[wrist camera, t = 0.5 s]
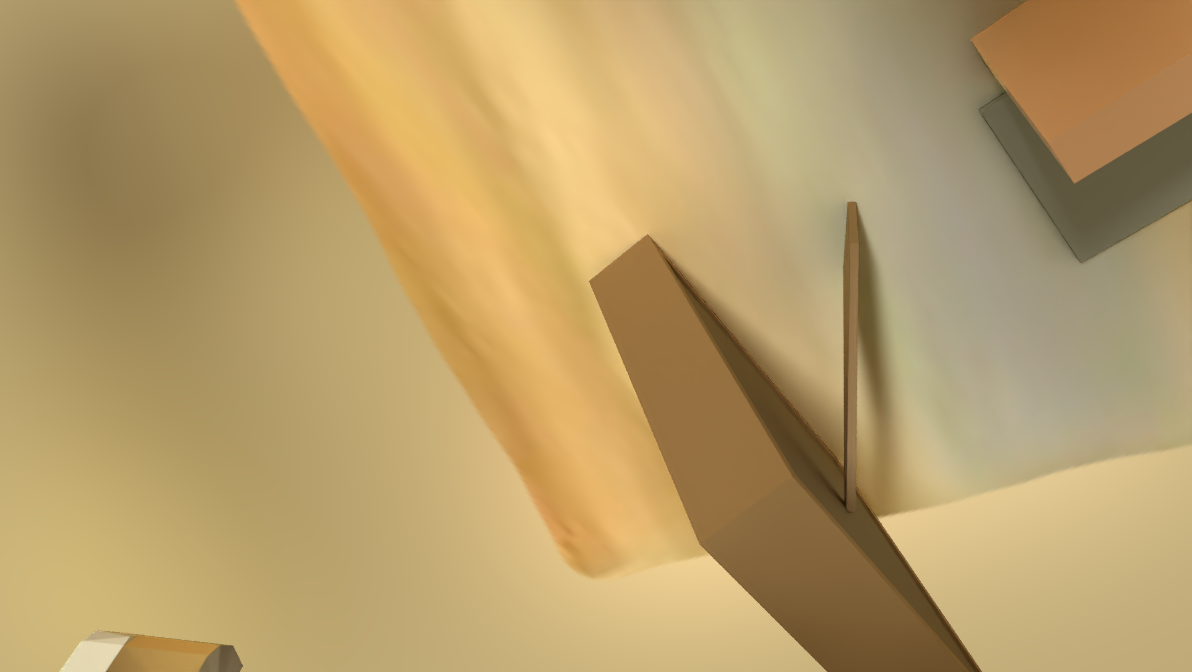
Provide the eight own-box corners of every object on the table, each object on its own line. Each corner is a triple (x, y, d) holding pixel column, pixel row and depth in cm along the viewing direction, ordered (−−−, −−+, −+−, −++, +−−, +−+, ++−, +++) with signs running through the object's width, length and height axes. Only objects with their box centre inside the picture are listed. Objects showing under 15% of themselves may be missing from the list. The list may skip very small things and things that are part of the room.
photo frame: (783, 488, 72) (854, 842, 52) (589, 272, 62) (582, 604, 42) (984, 384, 67) (1150, 733, 47) (806, 131, 57) (918, 432, 37)
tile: (1161, -93, 50) (1292, -11, 40) (1182, -50, 51) (1315, 39, 42) (970, 39, 54) (1047, 142, 44) (994, 76, 55) (1074, 184, 45)
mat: (978, 109, 56) (981, 112, 56) (1223, -51, 51) (1227, -49, 51) (1078, 259, 61) (1081, 262, 61) (1308, 127, 56) (1312, 130, 56)
